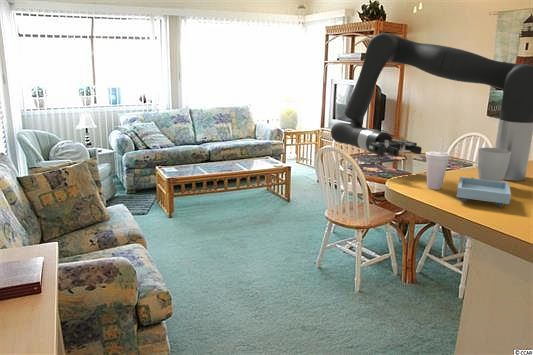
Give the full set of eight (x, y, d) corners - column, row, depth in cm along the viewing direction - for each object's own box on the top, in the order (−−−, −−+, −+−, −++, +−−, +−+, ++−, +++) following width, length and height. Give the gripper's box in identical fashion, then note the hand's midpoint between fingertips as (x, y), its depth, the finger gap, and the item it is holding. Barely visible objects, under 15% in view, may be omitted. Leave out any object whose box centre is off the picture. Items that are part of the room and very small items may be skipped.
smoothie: (448, 191, 119) (455, 140, 116) (423, 190, 121) (429, 139, 117) (444, 185, 126) (450, 136, 122) (420, 183, 127) (425, 135, 123)
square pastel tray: (458, 191, 120) (460, 176, 119) (506, 197, 116) (508, 182, 115) (455, 203, 110) (457, 187, 109) (508, 210, 105) (511, 194, 104)
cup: (502, 182, 130) (507, 148, 127) (508, 190, 122) (514, 154, 119) (472, 179, 132) (476, 146, 129) (476, 187, 124) (481, 152, 122)
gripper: (357, 131, 141) (391, 140, 126) (393, 129, 146) (429, 137, 132) (355, 154, 143) (388, 166, 128) (390, 151, 148) (426, 162, 134)
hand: (409, 151), depth 130 cm, fingers open, 8 cm apart
